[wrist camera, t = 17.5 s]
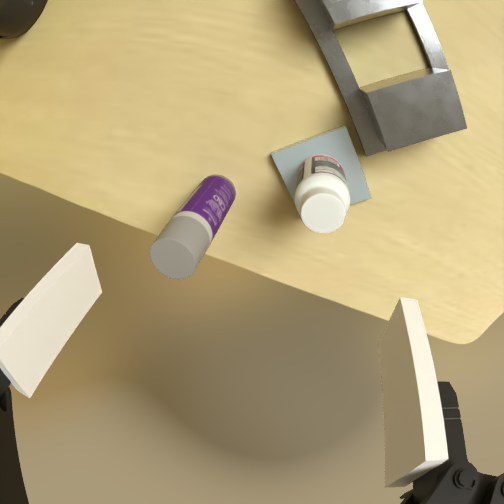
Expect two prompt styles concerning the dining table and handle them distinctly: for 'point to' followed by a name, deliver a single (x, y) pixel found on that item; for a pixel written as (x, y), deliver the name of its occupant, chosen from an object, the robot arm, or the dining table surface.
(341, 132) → the pad
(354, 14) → the housing
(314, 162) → the pill bottle
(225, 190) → the container
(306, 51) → the dining table surface
